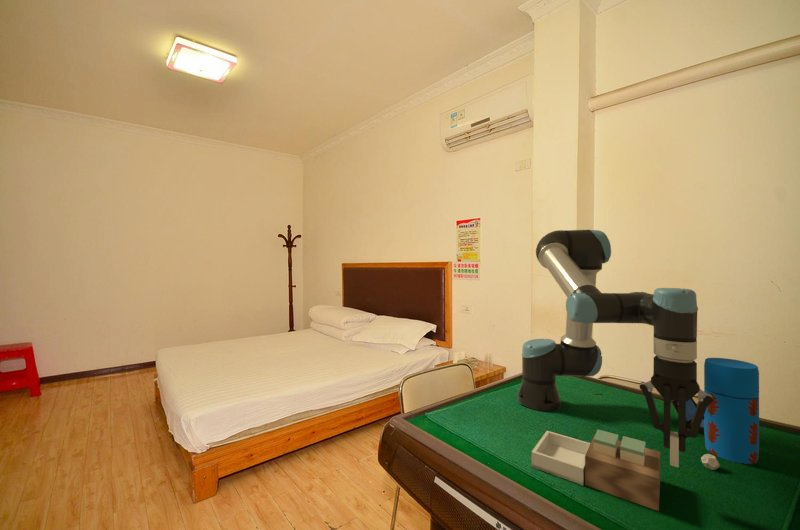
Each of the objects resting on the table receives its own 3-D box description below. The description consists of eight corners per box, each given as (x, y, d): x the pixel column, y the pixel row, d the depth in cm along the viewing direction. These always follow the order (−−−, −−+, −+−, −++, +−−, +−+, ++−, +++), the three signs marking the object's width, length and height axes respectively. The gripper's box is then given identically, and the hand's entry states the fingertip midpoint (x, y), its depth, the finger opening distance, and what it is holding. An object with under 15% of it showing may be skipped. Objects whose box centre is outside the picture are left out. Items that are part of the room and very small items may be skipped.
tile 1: (593, 451, 83) (593, 438, 83) (597, 440, 88) (597, 429, 88) (615, 457, 81) (615, 444, 81) (618, 446, 85) (618, 434, 85)
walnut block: (585, 485, 81) (585, 455, 81) (594, 460, 92) (594, 434, 92) (658, 511, 73) (658, 478, 73) (660, 480, 83) (660, 451, 83)
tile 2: (620, 459, 80) (620, 446, 80) (623, 448, 85) (623, 435, 85) (643, 466, 77) (643, 452, 77) (645, 454, 82) (645, 441, 82)
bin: (531, 467, 89) (531, 451, 89) (546, 444, 100) (546, 430, 100) (583, 485, 81) (583, 468, 81) (593, 458, 92) (593, 444, 92)
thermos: (694, 443, 99) (694, 358, 99) (727, 442, 100) (727, 356, 100) (733, 466, 89) (733, 369, 89) (771, 463, 90) (771, 368, 89)
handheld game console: (712, 438, 103) (712, 413, 103) (670, 423, 113) (670, 401, 112) (730, 429, 109) (730, 405, 109) (689, 415, 118) (689, 394, 118)
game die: (700, 461, 91) (700, 450, 91) (719, 467, 88) (719, 455, 88) (700, 468, 88) (700, 456, 88) (720, 473, 86) (720, 461, 86)
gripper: (637, 356, 77) (637, 460, 77) (716, 367, 69) (715, 483, 69) (639, 349, 83) (639, 446, 83) (712, 359, 75) (711, 466, 75)
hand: (674, 463), depth 76 cm, fingers closed
